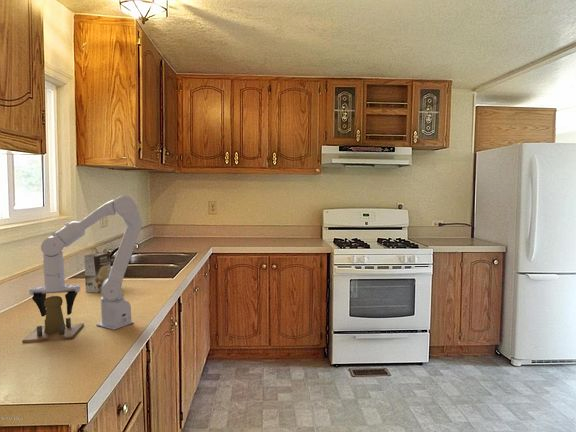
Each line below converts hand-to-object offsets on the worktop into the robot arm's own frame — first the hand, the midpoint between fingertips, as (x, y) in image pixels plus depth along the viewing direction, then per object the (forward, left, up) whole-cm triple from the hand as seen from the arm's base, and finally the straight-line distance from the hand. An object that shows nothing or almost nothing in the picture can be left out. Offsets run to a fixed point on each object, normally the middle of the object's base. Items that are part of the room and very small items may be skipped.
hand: (56, 314), depth 135 cm
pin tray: (-2, +2, -5) cm, 6 cm away
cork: (-1, +1, -5) cm, 5 cm away
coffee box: (+32, -39, -6) cm, 51 cm away
